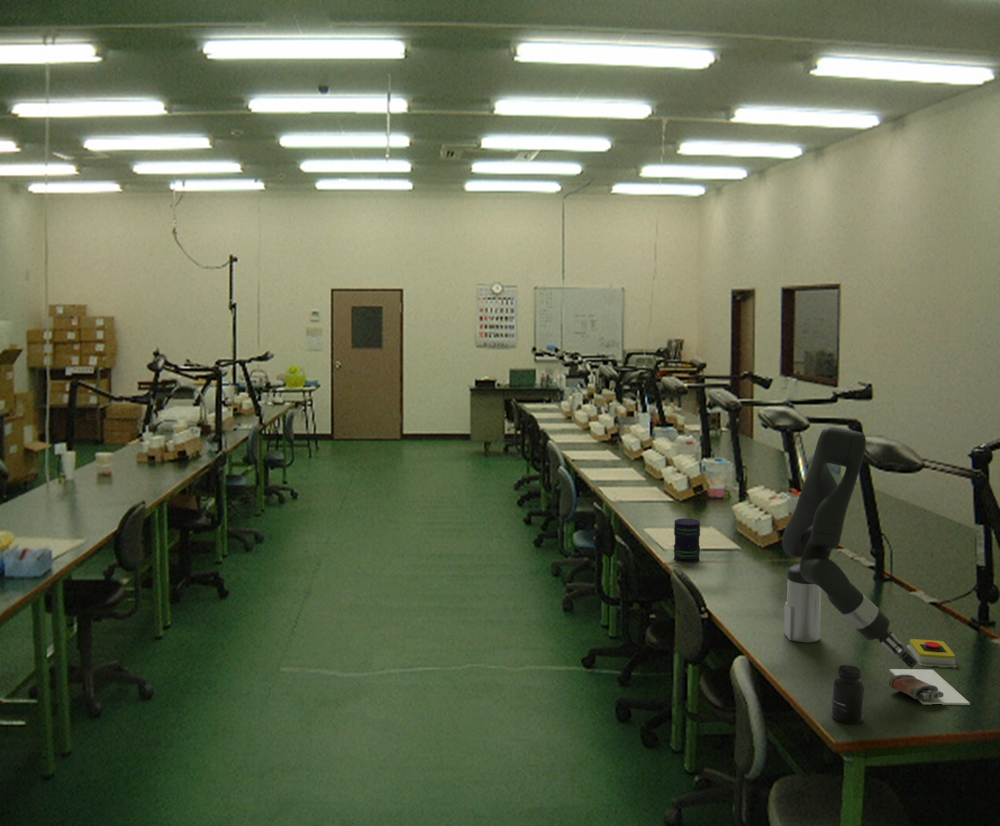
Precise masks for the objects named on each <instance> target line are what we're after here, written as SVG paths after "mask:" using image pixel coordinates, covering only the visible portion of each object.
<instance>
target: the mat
mask: <svg viewBox="0 0 1000 826" xmlns="http://www.w3.org/2000/svg"><path fill="white" fill-rule="evenodd" d="M889 672H890V673H891V675H893V677H894V676H897V675H902V674H908V675H912V676H914V677H915V678H917V679H919V680H921V681H923V682H925V683H928V684H930V685H934V686H936V687H937V688H938V691H940V692H942V693H943V694H944V696H943V697H941V698H934V700H928V699H926V700H918V702H919V703H921V704H922V705H932V704H942V705H943V706H944V705H945V706H951V705H952V706H971V705H970V704H971V702H969V701H968V700H967V698H965V697H964V696H963V695H961V693H959V692H958V691H957V690H956V689H955V688H954V687H953V686H952V685H950V684H949V683H948V681H946V680H945V679H944V678H942V677H941V675H939V674H938V673H937V672H936V671H935V670H934V669H920V668H919V669H916V668H915V669H913V668H910V669H909V668H907V669H906V668H905V669H904V668H903V669H902V668H901V669H900V668H898V669H897V668H890V669H889ZM942 705H941V706H942Z"/></svg>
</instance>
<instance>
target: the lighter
mask: <svg viewBox="0 0 1000 826" xmlns="http://www.w3.org/2000/svg"><path fill="white" fill-rule="evenodd" d="M888 686H889V687H890V688H892V689H894V690H897V691H900V692H902V693H904V694H905V695H908V696H910V697H911V698H912V699H914V700H917V701H919V700H926V699H928V700H934V698H941V697H943V696H944V694H943V693H942V692H940V691H938V688H937V687H936V686H934V685H930V684H928V683H925V682H923V681H921V680H919V679H917V678H915V677H914V676H912V675H908V674H902V675H897V676H894V675H893V676H892V677H890V679H889V681H888Z"/></svg>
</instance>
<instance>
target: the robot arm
mask: <svg viewBox="0 0 1000 826" xmlns="http://www.w3.org/2000/svg"><path fill="white" fill-rule="evenodd" d="M866 441H867V438H866V435H865V434H864V433H863V432H860V431H856V430H851V429H846V428H842V427H841V428H840V427H836V426H826V427H824V428H823V429H822V430H821V432H820V434H819V437H818V439H817V442H816V445H815V449H814V453H813V457H812V461H811V464H810V468H809V471H808V473H807V476H806V478H805V480H804V482H803V485H802V487H801V491H800V494H799V496H798V499H797V503H796V506H795V509H794V511H793V513H792V515H791V517H790V519H789V520H788V522H787V525H786V527H785V529H784V531H783V534H782V541H781V543H782V549H783V551H784V553H785V554H786V555H787V556H790V557H795V558H800V563H798V564H795V565H792V566H791V567H789V568H788V570H787V581H786V582H787V586H786V589H787V592H786V601H785V602H784V612H783V613H784V615H783V616H784V617H783V618H784V620H783V622H784V623H783V634H784V635H785V636H786V638H787V639H788V641H794V642H797V643H798V642H800V643H816V642H818V641H819V640H820V633H821V628H820V627H821V599H822V591H824V592H825V594H826V595H827V599H828V601H829V602H830V603H831V604H832V605H833V606H834V608H836V610H838V611H839V613H841V615H842V616H843V617H844V618H845V620H846V621H847V622H848V623H849V624H850V625H851V626H853V628H854V629H856V631H858V633H859V634H860V635H861V636H862V637H863V638H864V639H865V640H868V641H875V640H876V641H878V642H879V643H880V644H881V646H883V647H884V648H886V650H888V651H889V652H890V653H891V654H892V655H895V656H897V658H898V659H899V660H902V662H904V664H906V665H907V667H909V668H910V669H913V668H914V666H916V665H917V664H918V662H917V660H916V659H915V658H913V656H912V655H910V653H909V650H907V649H906V648H905V647H904V644H903V643H902V641H900V640H899V639H898V638H897V635H895V633H894V632H892V631H891V629H889V628H890V625H891V624H890V619H889V617H887V616H886V615H885V614H884V613H883V612H882V611H881V609H880V608H878V607H877V606H876V605H875V604H874V603H873V602H872V601H871V600H870V599H869V598H868V597H866V596H865V595H864V594H863V593H862V592H861V591H860V590H859V589H858V588H857V587H856V585H854V584H853V583H851V582H850V579H849V578H848V576H847V575H846V574H845V572H844V571H843V570H842V568H841V567H839V565H838V564H837V563H836V562H835V561H833V560H832V559H830V557H831V553H832V551H833V550H834V549H837V548H838V547H839V546H840V542H841V538H842V533H843V527H844V522H845V518H846V513H847V511H848V507H849V504H850V500H851V498H852V495H853V492H854V489H855V486H856V482H857V480H858V476H859V473H860V470H861V466H862V464H863V460H864V457H865V452H866V446H867V442H866ZM828 464H832V465H836V466H841V467H845V471H844V474H843V476H842V478H841V480H840V481H839V483H837V482H836V480H835V477H834V475H833V474H832V472H831V471H830V469H829V466H828Z"/></svg>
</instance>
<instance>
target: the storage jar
mask: <svg viewBox="0 0 1000 826" xmlns="http://www.w3.org/2000/svg"><path fill="white" fill-rule="evenodd" d="M700 524H701V521H700V520H698V519H695V518H677V519H675V520H674V525H673V534H674V544H673V555H674V556H673V560H674V561H676V562H679V563H684V564H685V563H688V564H689V563H690V564H691V563H697V562H699V561H700V553H701V546H700V536H701V525H700Z"/></svg>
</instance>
